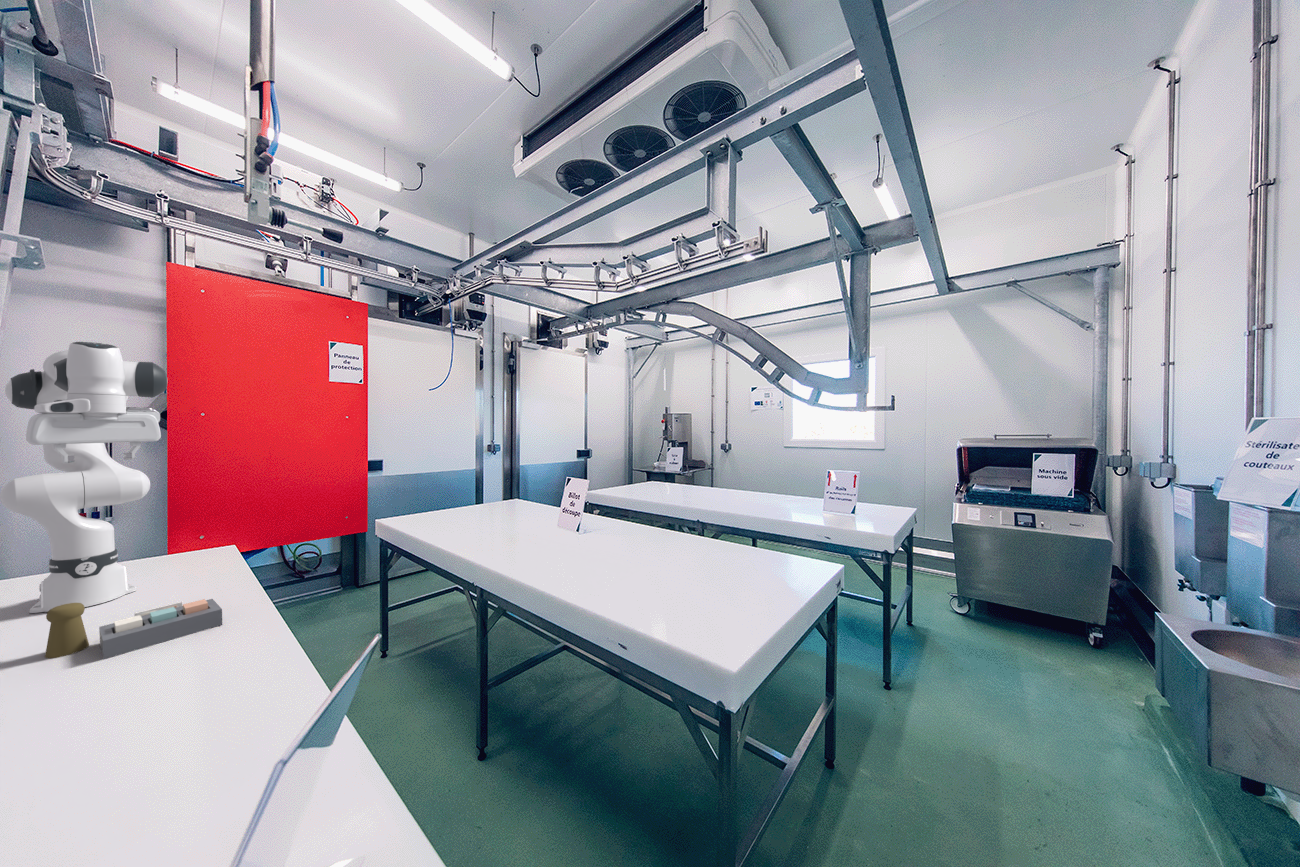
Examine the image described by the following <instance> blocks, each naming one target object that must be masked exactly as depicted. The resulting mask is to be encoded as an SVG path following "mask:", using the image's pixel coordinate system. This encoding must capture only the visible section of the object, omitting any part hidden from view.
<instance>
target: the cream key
mask: <svg viewBox="0 0 1300 867" xmlns="http://www.w3.org/2000/svg"><path fill="white" fill-rule="evenodd" d="M113 623H114V633H118V632H122V631H126V630H129V629H133V628H137V627H141V626H143V620H142V617H141V615H138V616H135V615H134V616H130V617H127V618H123V619H122V618H121V619H119V620H115V621H113Z"/></svg>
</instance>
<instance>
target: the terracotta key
mask: <svg viewBox="0 0 1300 867" xmlns="http://www.w3.org/2000/svg"><path fill="white" fill-rule="evenodd" d="M206 600H207V599H205V598H204V599H200V600H199V599H198V600H195V601H192V602H188V603H182V606H183V615H187V614H191V613H194V612H198V611H202V610H206V609H208V602H207V601H206Z"/></svg>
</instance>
